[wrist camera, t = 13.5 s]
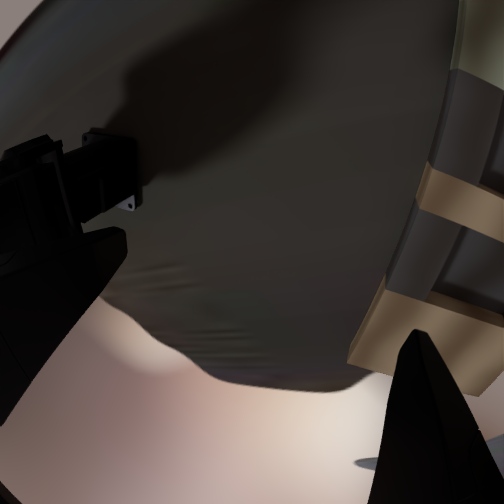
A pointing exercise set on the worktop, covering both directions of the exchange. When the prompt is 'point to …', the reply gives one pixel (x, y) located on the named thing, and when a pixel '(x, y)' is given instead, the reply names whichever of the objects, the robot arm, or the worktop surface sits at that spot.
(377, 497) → the robot arm
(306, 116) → the worktop surface
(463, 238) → the board
